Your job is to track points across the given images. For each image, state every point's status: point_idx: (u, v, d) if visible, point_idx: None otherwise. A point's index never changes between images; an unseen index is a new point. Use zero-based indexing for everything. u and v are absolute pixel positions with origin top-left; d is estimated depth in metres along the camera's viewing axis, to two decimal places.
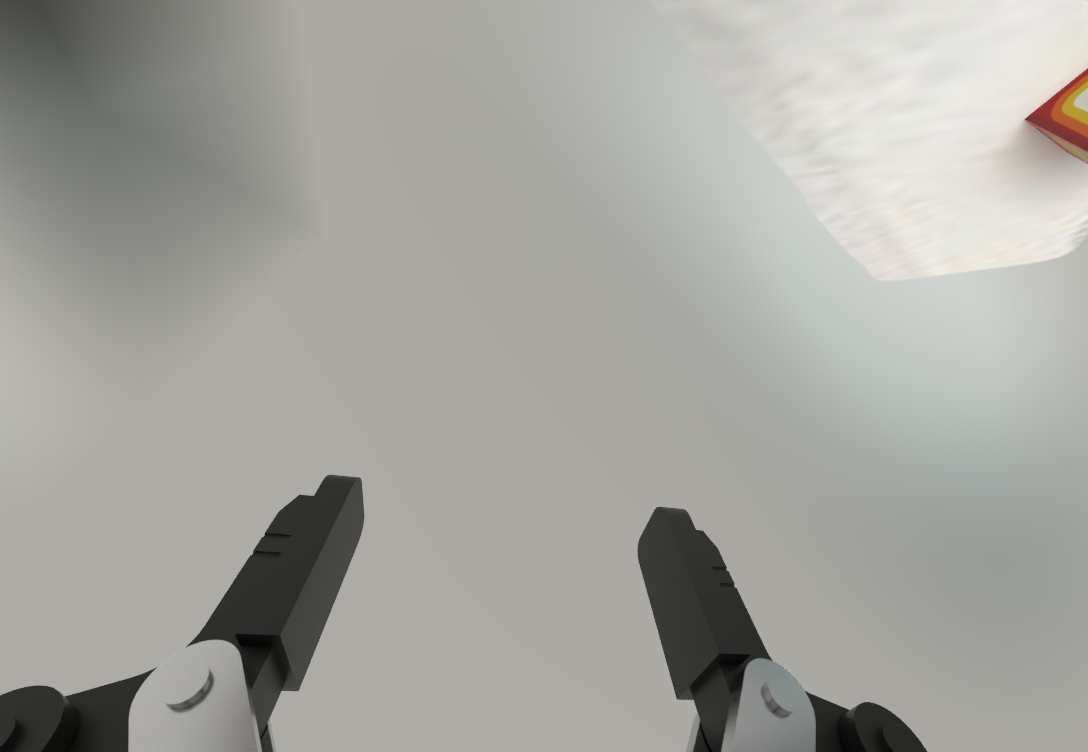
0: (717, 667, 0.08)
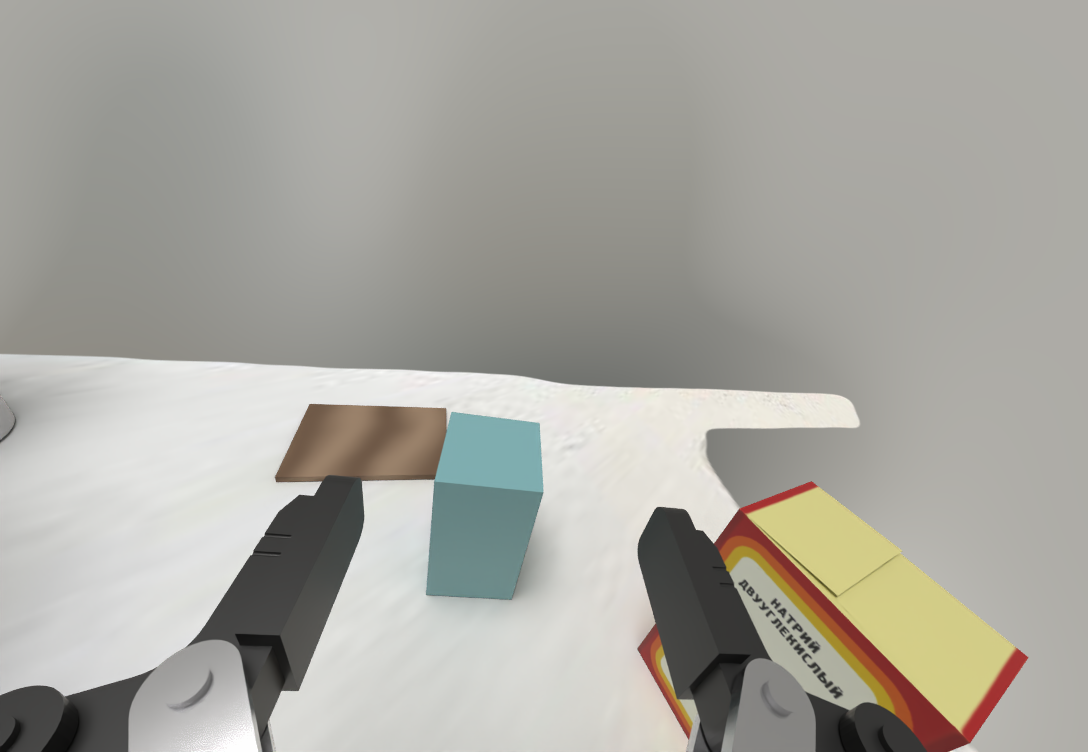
0: (717, 667, 0.08)
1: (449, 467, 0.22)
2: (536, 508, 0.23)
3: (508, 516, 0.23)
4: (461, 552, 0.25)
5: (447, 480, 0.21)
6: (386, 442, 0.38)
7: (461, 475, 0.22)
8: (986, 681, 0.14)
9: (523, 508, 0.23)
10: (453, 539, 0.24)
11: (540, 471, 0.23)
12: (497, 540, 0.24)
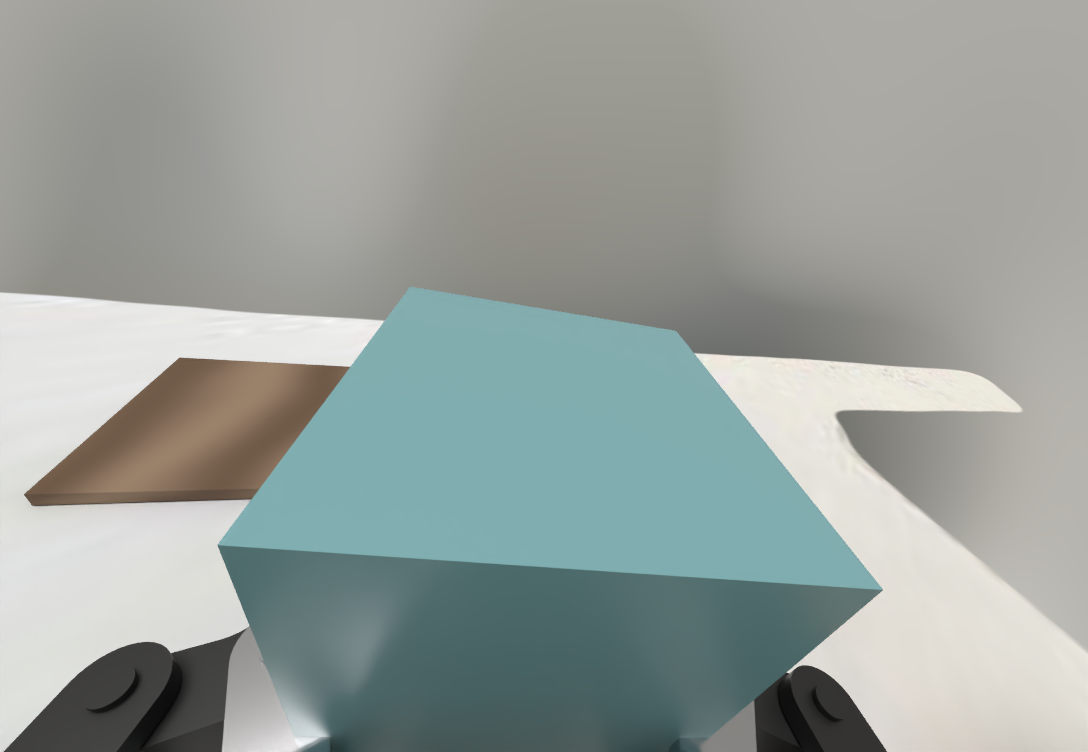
0: None
1: (356, 453, 0.04)
2: (797, 656, 0.05)
3: (650, 686, 0.05)
4: None
5: (321, 533, 0.03)
6: None
7: (418, 498, 0.04)
8: None
9: (734, 658, 0.05)
10: None
11: (783, 473, 0.05)
12: (579, 750, 0.06)
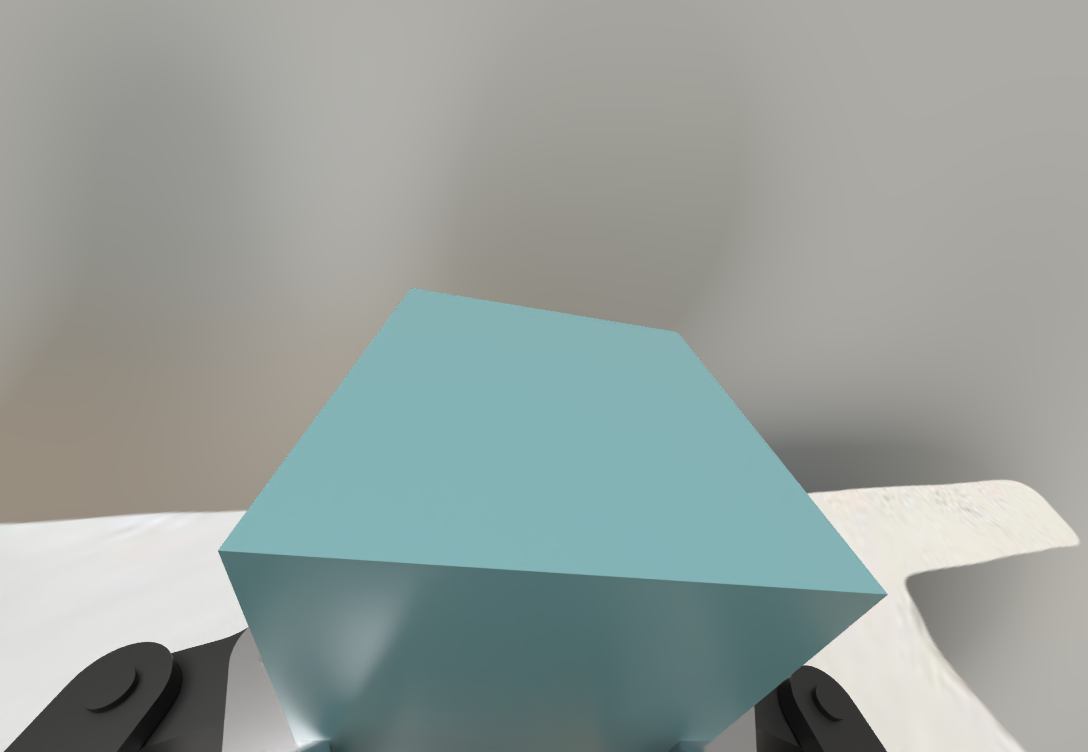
0: None
1: (357, 457, 0.04)
2: (800, 660, 0.05)
3: (652, 690, 0.05)
4: None
5: (322, 538, 0.03)
6: None
7: (420, 502, 0.04)
8: None
9: (737, 662, 0.05)
10: None
11: (786, 476, 0.05)
12: None
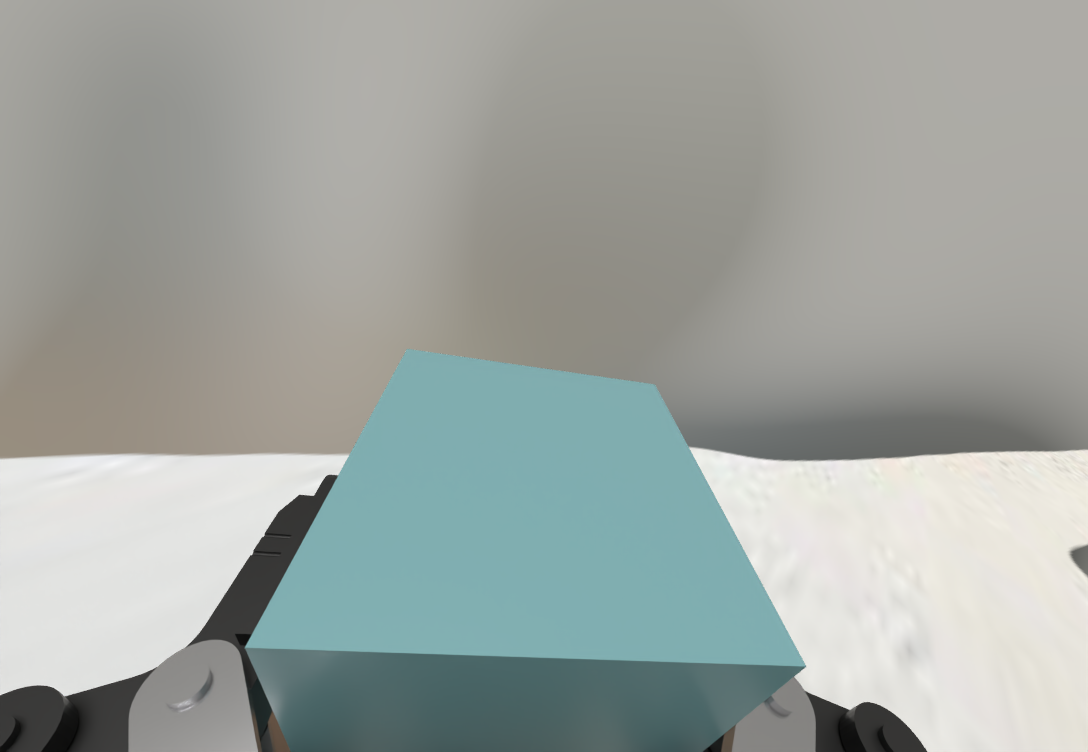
0: None
1: (357, 546, 0.05)
2: (741, 714, 0.05)
3: (615, 737, 0.06)
4: None
5: (328, 631, 0.04)
6: None
7: (410, 590, 0.04)
8: None
9: (686, 715, 0.05)
10: None
11: (735, 546, 0.06)
12: None
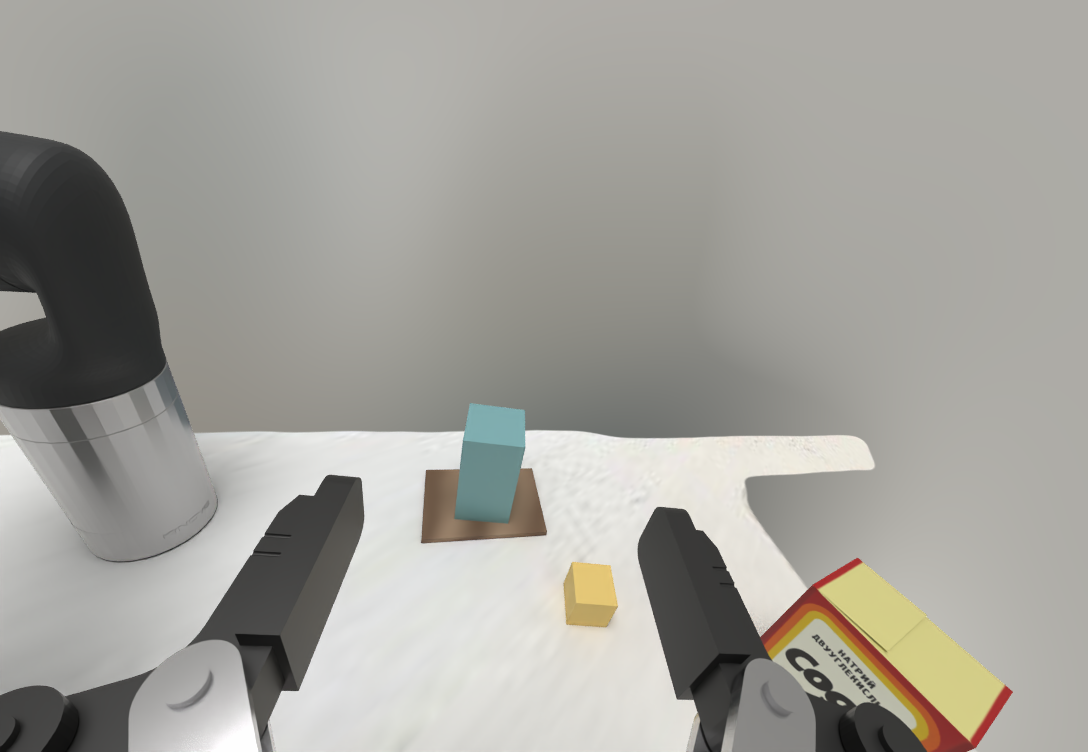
0: (717, 666, 0.08)
1: (470, 433, 0.39)
2: (521, 458, 0.39)
3: (505, 463, 0.39)
4: (477, 487, 0.41)
5: (470, 440, 0.38)
6: None
7: (478, 437, 0.38)
8: (985, 709, 0.23)
9: (513, 458, 0.39)
10: (472, 478, 0.40)
11: (524, 436, 0.40)
12: (498, 479, 0.41)
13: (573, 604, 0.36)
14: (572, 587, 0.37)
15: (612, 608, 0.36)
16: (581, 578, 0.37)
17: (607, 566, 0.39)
